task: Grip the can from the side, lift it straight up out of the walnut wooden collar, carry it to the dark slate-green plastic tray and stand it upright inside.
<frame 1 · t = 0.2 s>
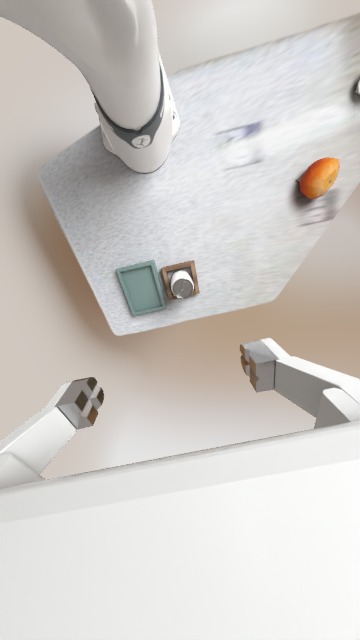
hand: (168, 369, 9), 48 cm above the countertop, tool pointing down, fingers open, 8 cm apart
can: (180, 279, 54), resting in collar
fruit: (307, 184, 45), on the countertop
collar: (180, 279, 54), on the countertop
tray: (143, 288, 55), on the countertop
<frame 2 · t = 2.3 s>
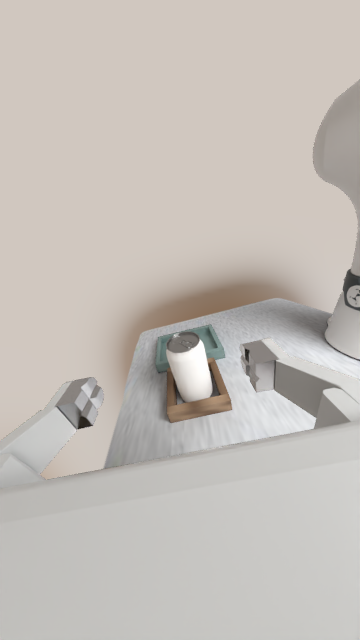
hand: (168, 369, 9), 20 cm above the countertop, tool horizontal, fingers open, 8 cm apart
can: (196, 391, 31), resting in collar
collar: (196, 390, 31), on the countertop
tray: (188, 349, 43), on the countertop
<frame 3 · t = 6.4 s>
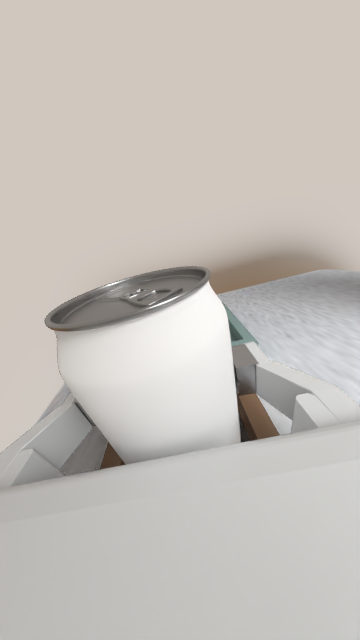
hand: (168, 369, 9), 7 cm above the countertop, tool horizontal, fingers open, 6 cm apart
can: (193, 454, 11), resting in collar, touching gripper
collar: (193, 453, 11), on the countertop
tray: (181, 345, 23), on the countertop
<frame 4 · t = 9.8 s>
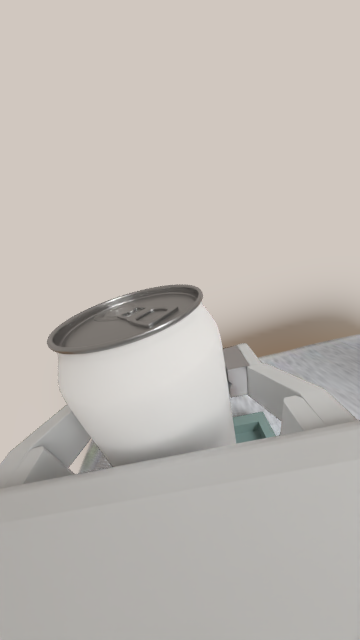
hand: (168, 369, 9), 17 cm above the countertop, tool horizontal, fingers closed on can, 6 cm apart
can: (191, 468, 11), point 9 cm above the countertop, touching gripper
tray: (211, 503, 15), on the countertop
when the fingers open (9 cm above the countertop, at t = 12.0 s): can moves 2 cm, resting on tray.
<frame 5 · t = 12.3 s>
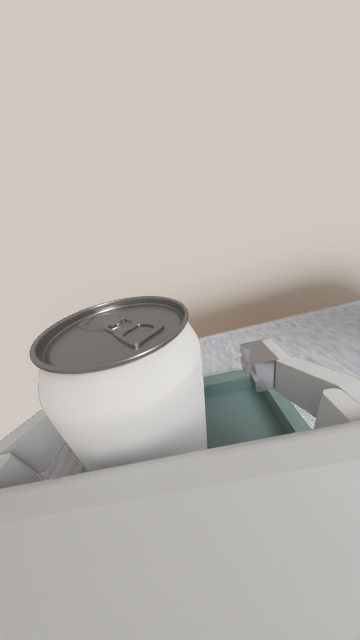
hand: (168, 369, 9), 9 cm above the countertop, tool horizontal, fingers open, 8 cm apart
can: (164, 467, 12), point 1 cm above the countertop, touching gripper, tray
tray: (198, 467, 12), on the countertop
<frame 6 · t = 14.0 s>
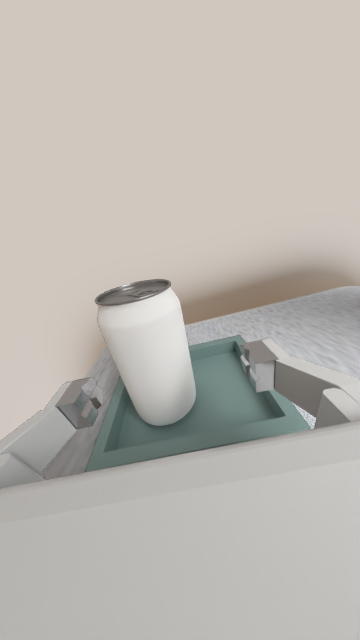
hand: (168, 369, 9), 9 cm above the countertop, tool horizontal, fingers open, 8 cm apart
can: (167, 398, 17), point 1 cm above the countertop, touching tray
tray: (190, 398, 18), on the countertop
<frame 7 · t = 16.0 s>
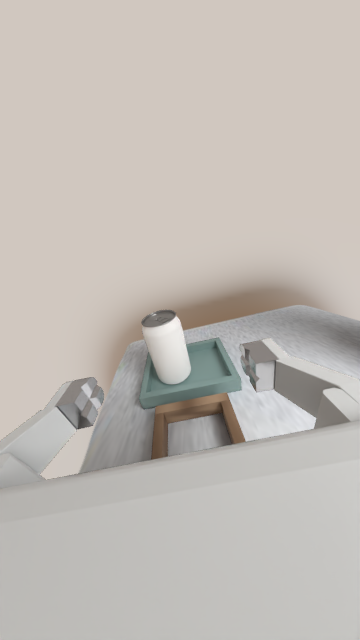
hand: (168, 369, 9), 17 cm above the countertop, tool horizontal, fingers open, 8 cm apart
can: (175, 373, 31), point 1 cm above the countertop, touching tray
collar: (199, 450, 19), on the countertop
tray: (188, 372, 31), on the countertop
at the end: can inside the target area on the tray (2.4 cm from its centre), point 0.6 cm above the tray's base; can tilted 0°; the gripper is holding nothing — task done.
